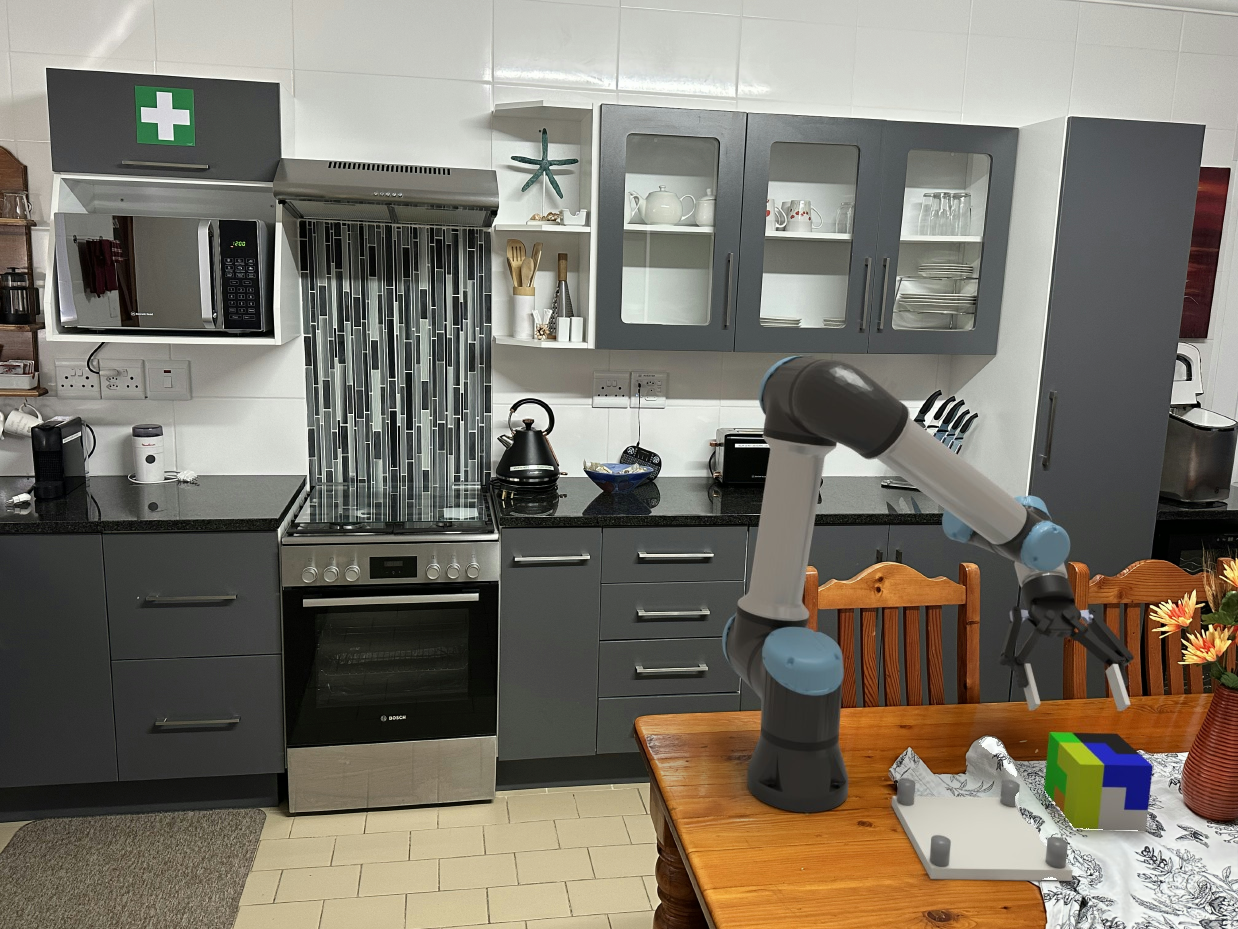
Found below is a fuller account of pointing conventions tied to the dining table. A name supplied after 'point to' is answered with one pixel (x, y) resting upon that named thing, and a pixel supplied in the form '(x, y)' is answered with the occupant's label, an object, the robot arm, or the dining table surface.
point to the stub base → (978, 837)
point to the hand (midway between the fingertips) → (1079, 707)
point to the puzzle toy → (1098, 781)
